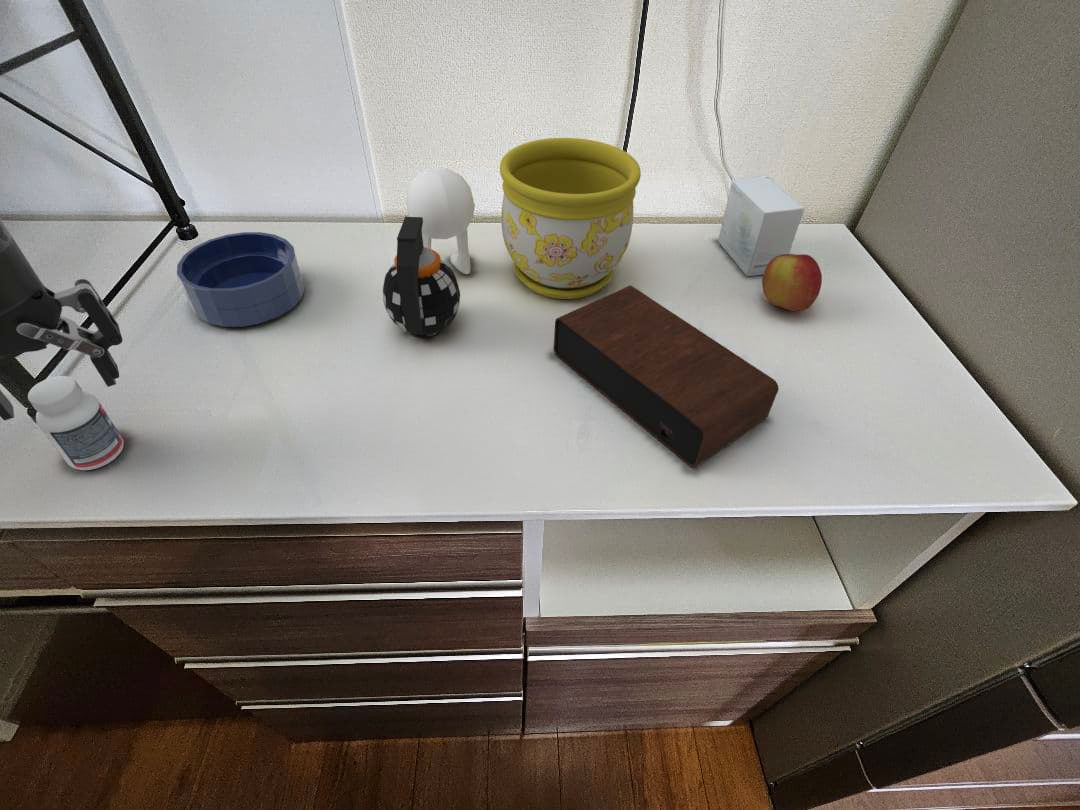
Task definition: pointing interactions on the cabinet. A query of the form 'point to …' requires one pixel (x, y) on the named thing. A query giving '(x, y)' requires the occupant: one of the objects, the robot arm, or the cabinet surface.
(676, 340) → the alarm clock
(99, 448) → the pill bottle
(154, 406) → the cabinet surface
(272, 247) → the basin
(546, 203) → the flowerpot
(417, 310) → the grenade
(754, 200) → the cosmetics box
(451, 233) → the toy character
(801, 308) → the apple
